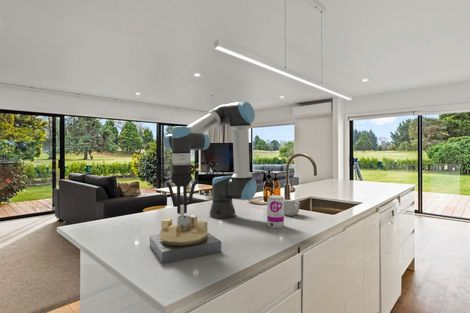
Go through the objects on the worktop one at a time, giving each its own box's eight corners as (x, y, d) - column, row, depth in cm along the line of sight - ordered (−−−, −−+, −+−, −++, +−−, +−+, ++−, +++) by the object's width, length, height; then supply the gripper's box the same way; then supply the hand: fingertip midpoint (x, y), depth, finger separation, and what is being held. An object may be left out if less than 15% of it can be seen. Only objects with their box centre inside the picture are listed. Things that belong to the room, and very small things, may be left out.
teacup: (279, 213, 165) (279, 200, 165) (296, 212, 166) (296, 199, 165) (285, 218, 151) (285, 204, 151) (304, 218, 152) (304, 203, 152)
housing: (149, 245, 108) (149, 235, 108) (201, 237, 118) (201, 227, 118) (161, 263, 90) (161, 251, 90) (221, 251, 101) (221, 240, 101)
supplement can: (283, 228, 131) (283, 198, 130) (266, 228, 132) (266, 197, 132) (284, 224, 138) (284, 195, 138) (268, 223, 140) (267, 194, 140)
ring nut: (155, 235, 108) (155, 215, 108) (197, 228, 116) (197, 210, 116) (167, 249, 92) (166, 225, 92) (215, 240, 101) (215, 219, 101)
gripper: (165, 164, 105) (165, 225, 106) (198, 164, 109) (199, 222, 109) (165, 164, 113) (165, 220, 113) (196, 163, 116) (196, 218, 117)
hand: (182, 221), depth 111 cm, fingers closed
